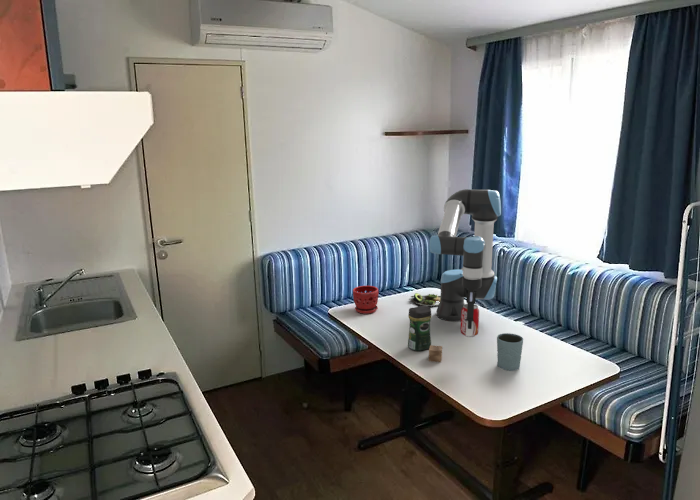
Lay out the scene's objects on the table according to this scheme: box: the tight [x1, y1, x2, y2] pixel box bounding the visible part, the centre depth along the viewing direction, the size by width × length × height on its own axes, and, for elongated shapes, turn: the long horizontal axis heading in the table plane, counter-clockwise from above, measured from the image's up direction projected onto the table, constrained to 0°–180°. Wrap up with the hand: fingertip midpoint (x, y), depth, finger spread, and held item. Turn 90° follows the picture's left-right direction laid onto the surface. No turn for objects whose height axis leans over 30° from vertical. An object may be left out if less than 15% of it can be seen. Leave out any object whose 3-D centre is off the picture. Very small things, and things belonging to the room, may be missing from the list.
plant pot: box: [352, 285, 379, 315], centre depth 279 cm, size 13×13×12 cm
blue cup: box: [496, 332, 524, 372], centre depth 216 cm, size 10×10×12 cm
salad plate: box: [410, 292, 441, 308], centre depth 294 cm, size 19×18×5 cm
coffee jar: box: [407, 305, 432, 352], centre depth 233 cm, size 10×8×19 cm
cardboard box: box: [428, 344, 443, 363], centre depth 223 cm, size 5×5×5 cm
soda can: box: [460, 303, 480, 338], centre depth 217 cm, size 7×7×12 cm
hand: (469, 331), depth 218 cm, fingers closed on soda can, 7 cm apart
